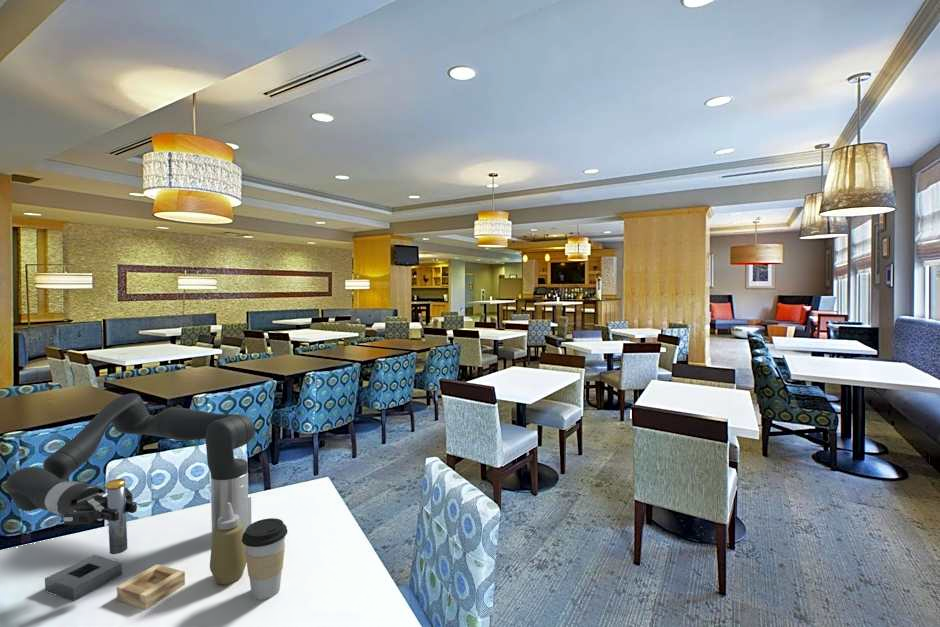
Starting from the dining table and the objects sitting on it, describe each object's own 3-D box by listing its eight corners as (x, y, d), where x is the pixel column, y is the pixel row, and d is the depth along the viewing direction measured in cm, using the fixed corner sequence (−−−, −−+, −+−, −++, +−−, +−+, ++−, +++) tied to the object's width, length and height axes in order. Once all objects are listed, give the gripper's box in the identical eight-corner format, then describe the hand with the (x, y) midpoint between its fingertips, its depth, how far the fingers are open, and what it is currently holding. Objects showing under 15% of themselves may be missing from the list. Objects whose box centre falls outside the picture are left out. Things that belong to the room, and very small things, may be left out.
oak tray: (157, 576, 107) (157, 563, 107) (184, 584, 104) (184, 571, 104) (117, 600, 99) (116, 586, 99) (145, 609, 96) (145, 596, 96)
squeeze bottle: (255, 571, 110) (254, 498, 109) (228, 591, 102) (226, 514, 101) (230, 564, 112) (229, 493, 112) (201, 583, 105) (200, 508, 104)
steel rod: (121, 544, 104) (118, 477, 103) (131, 547, 103) (128, 479, 102) (105, 552, 101) (102, 483, 100) (115, 556, 100) (112, 486, 99)
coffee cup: (271, 608, 97) (270, 540, 96) (232, 602, 98) (231, 535, 98) (296, 580, 106) (295, 518, 105) (261, 575, 108) (260, 514, 107)
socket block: (94, 566, 111) (94, 554, 111) (122, 574, 108) (121, 562, 108) (45, 591, 102) (44, 578, 102) (73, 601, 98) (73, 588, 98)
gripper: (107, 501, 113) (157, 513, 108) (39, 530, 100) (92, 545, 94) (106, 472, 112) (156, 482, 107) (37, 497, 99) (90, 511, 94)
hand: (125, 512), depth 101 cm, fingers closed on steel rod, 3 cm apart
